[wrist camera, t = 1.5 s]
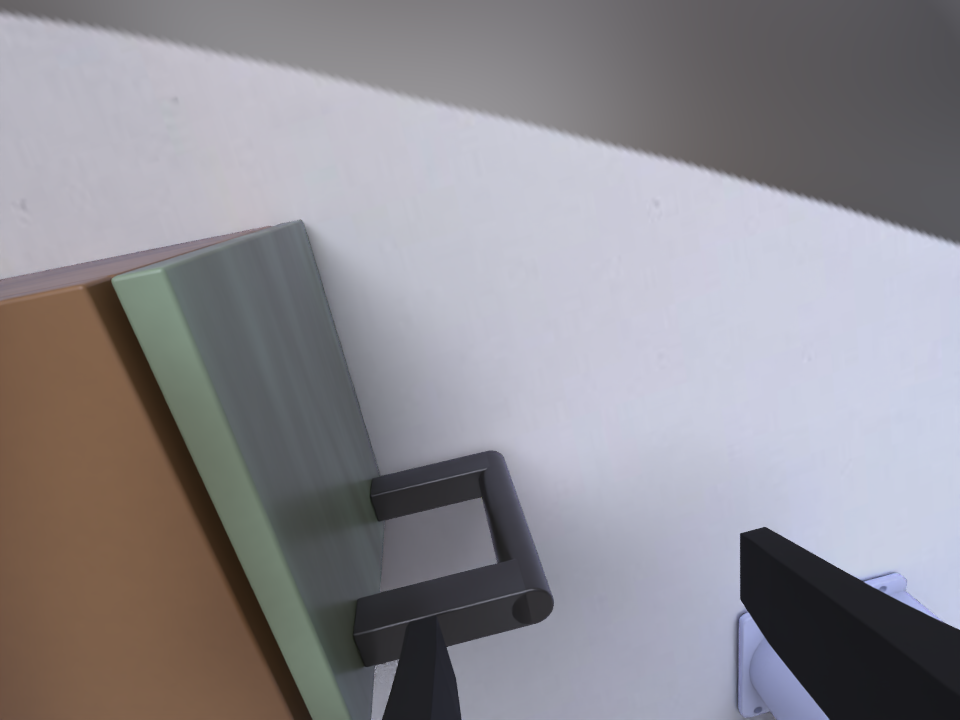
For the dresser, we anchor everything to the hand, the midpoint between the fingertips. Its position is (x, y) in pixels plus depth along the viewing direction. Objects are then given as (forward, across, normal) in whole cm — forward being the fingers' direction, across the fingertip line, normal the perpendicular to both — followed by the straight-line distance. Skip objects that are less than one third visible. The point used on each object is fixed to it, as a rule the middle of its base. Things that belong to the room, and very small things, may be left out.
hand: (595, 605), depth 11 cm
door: (+10, +4, -3) cm, 11 cm away
